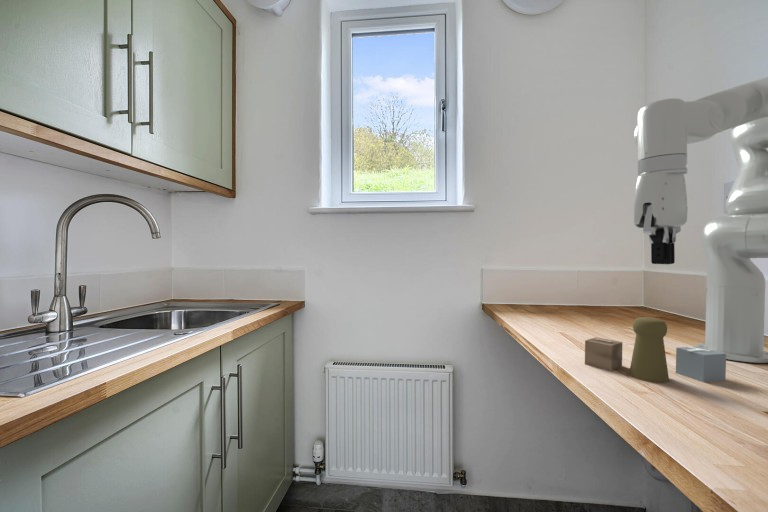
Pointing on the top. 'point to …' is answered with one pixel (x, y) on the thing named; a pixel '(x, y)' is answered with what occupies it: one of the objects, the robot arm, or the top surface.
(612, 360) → the walnut numeral block
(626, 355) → the top surface
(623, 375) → the top surface
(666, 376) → the cork
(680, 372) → the slate numeral block
